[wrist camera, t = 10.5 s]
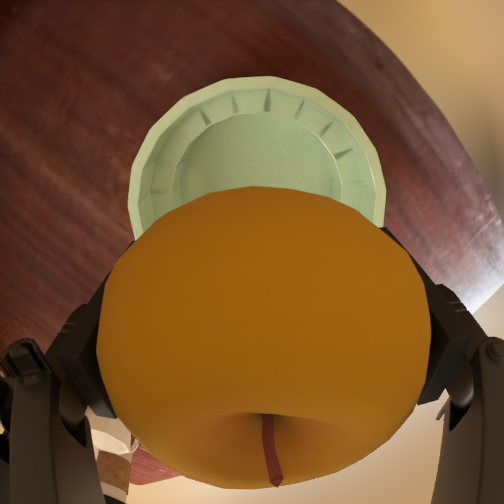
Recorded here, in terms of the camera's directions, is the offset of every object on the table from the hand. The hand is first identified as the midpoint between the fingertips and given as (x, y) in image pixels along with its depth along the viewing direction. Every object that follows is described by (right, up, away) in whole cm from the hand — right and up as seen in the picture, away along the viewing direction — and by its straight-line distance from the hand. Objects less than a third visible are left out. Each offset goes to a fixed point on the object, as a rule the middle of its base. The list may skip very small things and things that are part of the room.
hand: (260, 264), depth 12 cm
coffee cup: (-25, -35, +32) cm, 54 cm away
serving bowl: (0, +5, +10) cm, 12 cm away
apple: (0, 0, 0) cm, 0 cm away
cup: (-18, -20, +24) cm, 36 cm away
